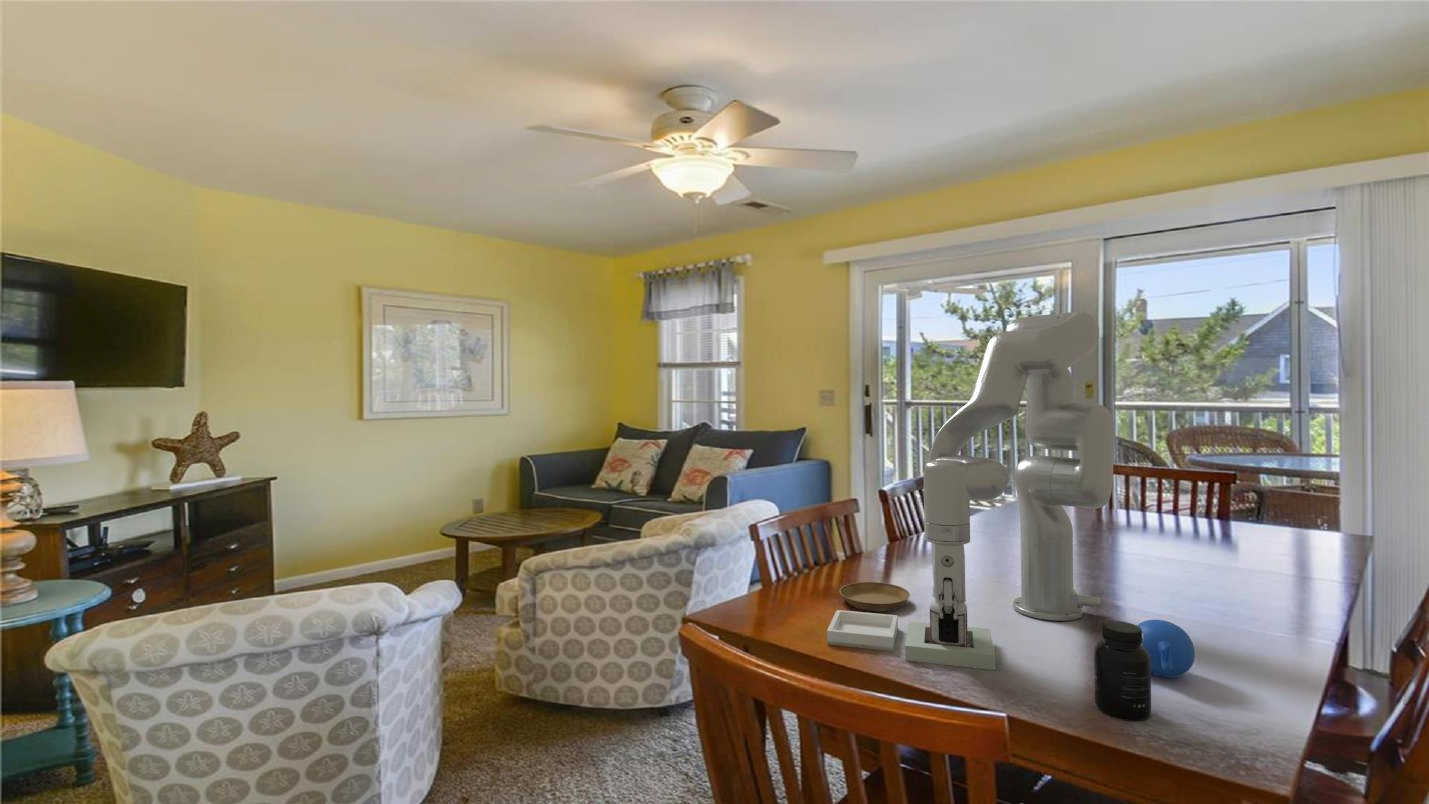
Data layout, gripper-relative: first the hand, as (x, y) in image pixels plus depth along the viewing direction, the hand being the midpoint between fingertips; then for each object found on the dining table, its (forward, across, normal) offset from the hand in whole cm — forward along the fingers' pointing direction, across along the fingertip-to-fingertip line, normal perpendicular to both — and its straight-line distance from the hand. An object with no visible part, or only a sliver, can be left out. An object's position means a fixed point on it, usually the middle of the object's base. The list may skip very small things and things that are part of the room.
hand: (948, 633), depth 114 cm
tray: (+3, +3, +15) cm, 16 cm away
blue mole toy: (+3, 0, -30) cm, 30 cm away
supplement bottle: (+3, -15, -23) cm, 28 cm away
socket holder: (+3, 0, 0) cm, 3 cm away
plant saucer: (+4, +23, +15) cm, 28 cm away
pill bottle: (+3, 0, 0) cm, 3 cm away
